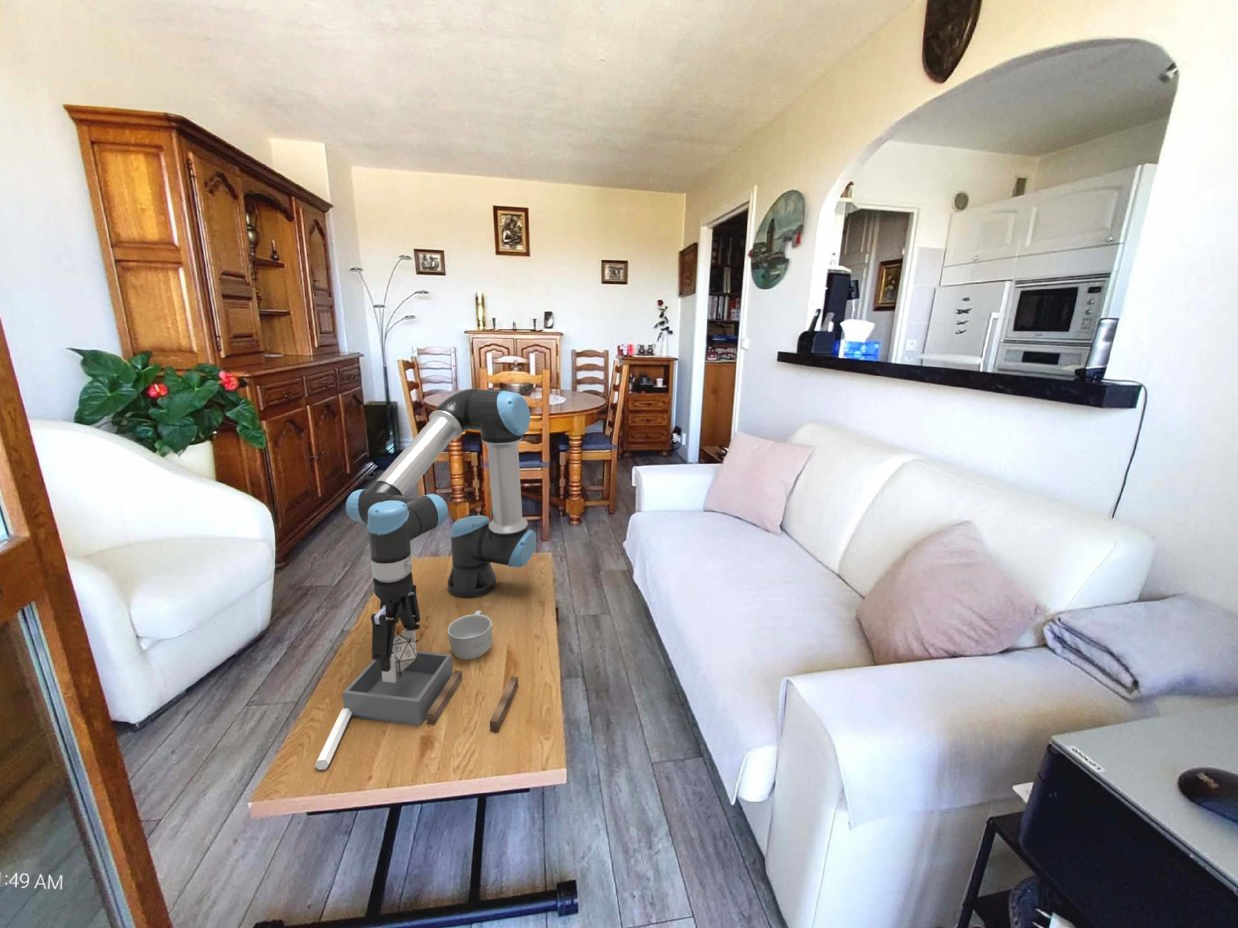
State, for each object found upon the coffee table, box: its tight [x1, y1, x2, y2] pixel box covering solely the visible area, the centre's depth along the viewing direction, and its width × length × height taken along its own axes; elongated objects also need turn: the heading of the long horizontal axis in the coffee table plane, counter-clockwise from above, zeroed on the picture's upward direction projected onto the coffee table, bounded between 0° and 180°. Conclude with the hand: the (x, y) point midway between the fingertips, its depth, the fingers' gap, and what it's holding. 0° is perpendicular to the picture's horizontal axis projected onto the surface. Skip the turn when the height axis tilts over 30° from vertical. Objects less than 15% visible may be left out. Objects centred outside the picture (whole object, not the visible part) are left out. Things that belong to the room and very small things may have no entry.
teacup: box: [446, 610, 493, 660], centre depth 126 cm, size 14×11×8 cm
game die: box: [378, 630, 421, 678], centre depth 107 cm, size 9×8×10 cm
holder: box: [426, 669, 519, 733], centre depth 108 cm, size 14×15×2 cm
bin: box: [341, 650, 454, 727], centre depth 109 cm, size 16×17×6 cm
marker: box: [314, 707, 352, 771], centre depth 98 cm, size 3×2×16 cm
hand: (400, 667), depth 108 cm, fingers closed on game die, 8 cm apart
